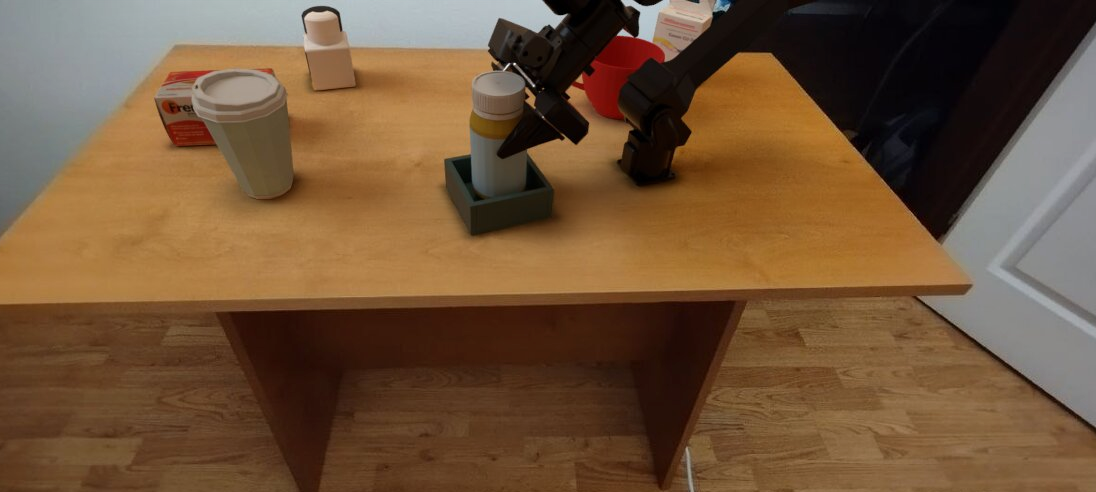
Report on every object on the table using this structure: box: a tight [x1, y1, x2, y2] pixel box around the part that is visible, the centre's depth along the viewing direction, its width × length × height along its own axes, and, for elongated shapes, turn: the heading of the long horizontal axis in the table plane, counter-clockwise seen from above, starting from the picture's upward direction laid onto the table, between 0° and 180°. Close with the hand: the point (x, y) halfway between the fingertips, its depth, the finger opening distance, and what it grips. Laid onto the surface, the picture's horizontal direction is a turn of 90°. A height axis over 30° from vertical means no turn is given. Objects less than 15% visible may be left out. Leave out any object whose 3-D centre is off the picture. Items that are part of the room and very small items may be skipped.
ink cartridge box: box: [651, 0, 717, 62], centre depth 103 cm, size 9×5×15 cm, turn 58°
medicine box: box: [153, 67, 276, 147], centre depth 85 cm, size 15×8×8 cm, turn 99°
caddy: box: [443, 152, 555, 236], centre depth 76 cm, size 11×11×4 cm
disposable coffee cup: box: [192, 67, 295, 200], centre depth 73 cm, size 11×11×15 cm
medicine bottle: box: [301, 5, 356, 91], centre depth 97 cm, size 7×7×12 cm
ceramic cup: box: [571, 35, 665, 120], centre depth 94 cm, size 13×17×10 cm
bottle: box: [469, 70, 528, 200], centre depth 71 cm, size 7×7×15 cm
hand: (488, 141), depth 70 cm, fingers closed on bottle, 7 cm apart
